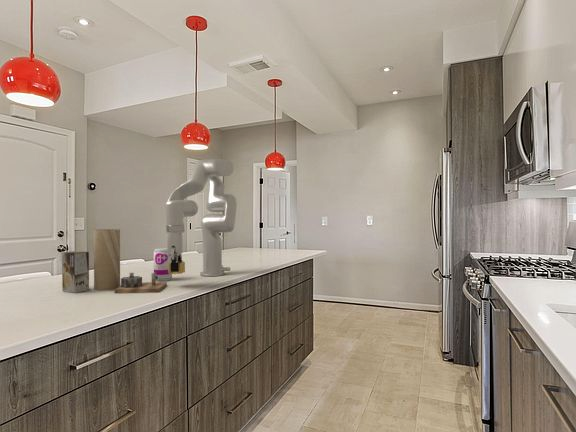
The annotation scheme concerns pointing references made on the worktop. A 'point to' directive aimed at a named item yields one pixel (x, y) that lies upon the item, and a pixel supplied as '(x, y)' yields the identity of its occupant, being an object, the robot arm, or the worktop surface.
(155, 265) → the supplement can
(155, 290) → the gear board
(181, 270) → the brass gear
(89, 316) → the worktop surface
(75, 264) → the coffee box
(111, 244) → the tube
